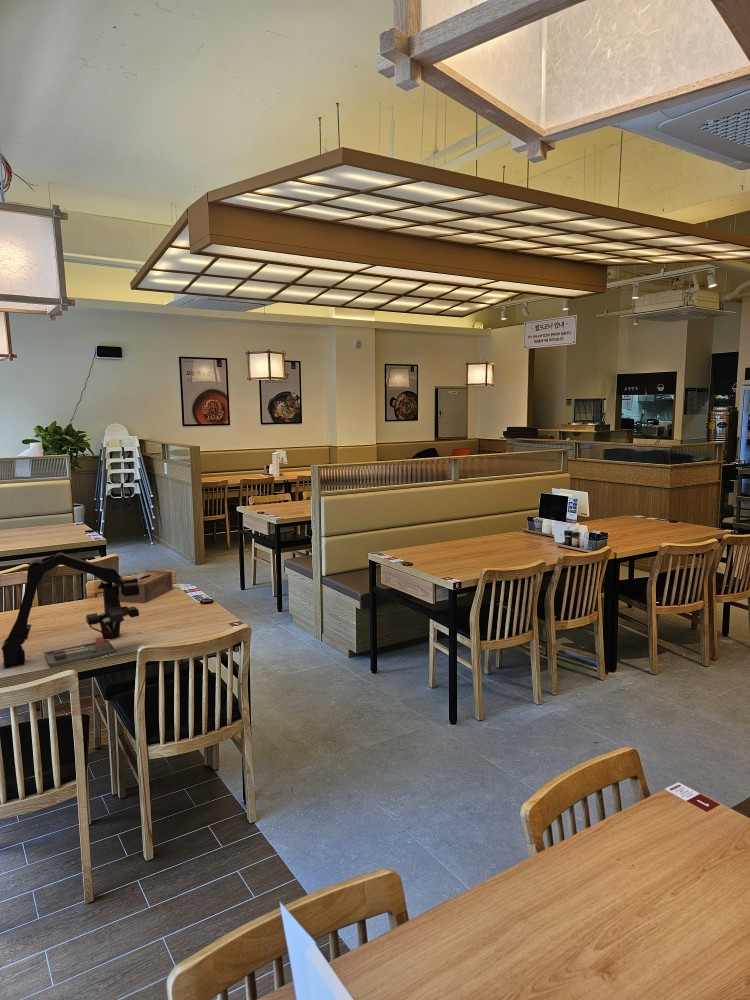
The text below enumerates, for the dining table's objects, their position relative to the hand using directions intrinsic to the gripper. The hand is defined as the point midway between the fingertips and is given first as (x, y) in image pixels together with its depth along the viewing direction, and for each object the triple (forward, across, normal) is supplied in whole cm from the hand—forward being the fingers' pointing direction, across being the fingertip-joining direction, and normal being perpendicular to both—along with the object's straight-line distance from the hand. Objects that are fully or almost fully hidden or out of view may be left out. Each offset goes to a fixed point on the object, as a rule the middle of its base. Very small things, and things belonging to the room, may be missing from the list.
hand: (114, 636), depth 246 cm
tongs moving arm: (+4, -16, +2) cm, 17 cm away
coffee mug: (+5, +1, +16) cm, 17 cm away
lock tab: (+2, -5, 0) cm, 6 cm away
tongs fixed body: (+4, -13, 0) cm, 13 cm away
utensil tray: (+5, -12, +1) cm, 14 cm away
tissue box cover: (+6, +31, +70) cm, 77 cm away
